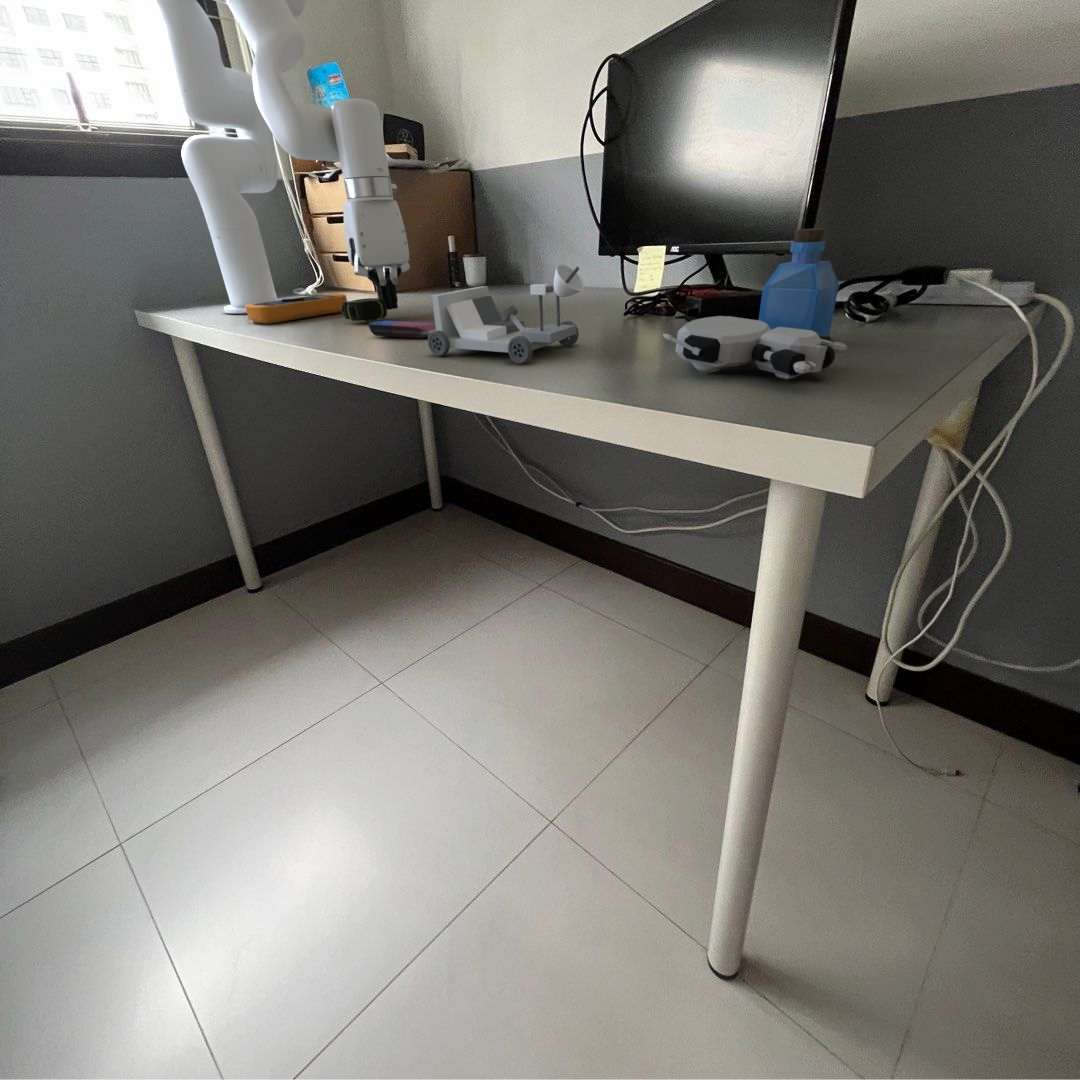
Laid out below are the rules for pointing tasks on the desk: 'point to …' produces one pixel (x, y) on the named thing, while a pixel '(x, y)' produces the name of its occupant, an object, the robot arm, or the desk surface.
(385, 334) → the eraser
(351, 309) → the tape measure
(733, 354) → the robot toy
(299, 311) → the multimeter
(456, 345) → the toy car
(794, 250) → the perfume bottle
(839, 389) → the desk surface
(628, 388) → the desk surface
